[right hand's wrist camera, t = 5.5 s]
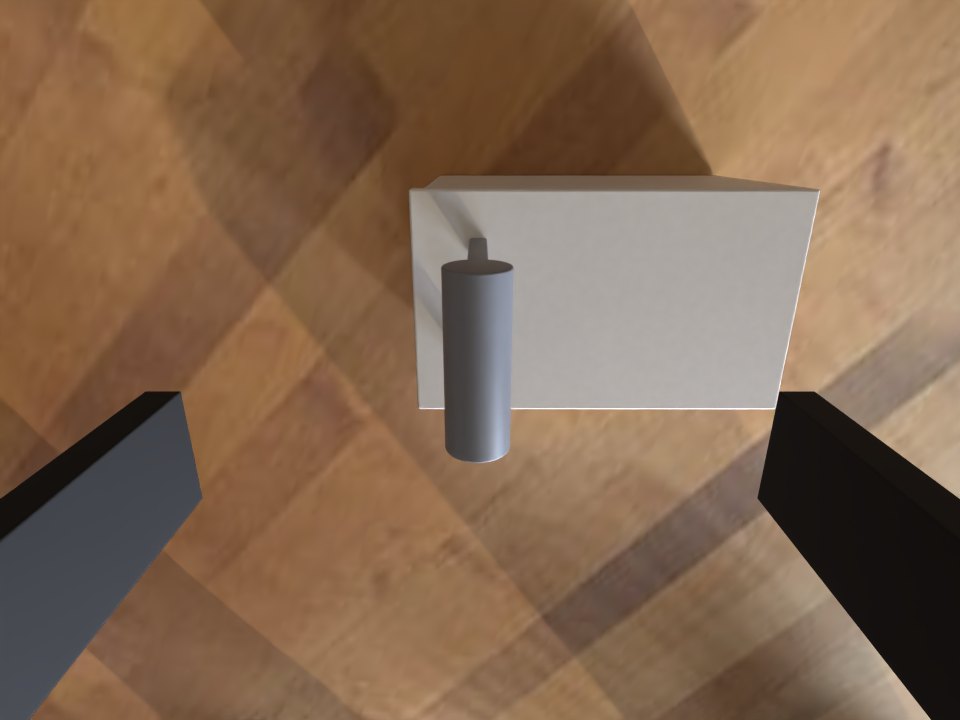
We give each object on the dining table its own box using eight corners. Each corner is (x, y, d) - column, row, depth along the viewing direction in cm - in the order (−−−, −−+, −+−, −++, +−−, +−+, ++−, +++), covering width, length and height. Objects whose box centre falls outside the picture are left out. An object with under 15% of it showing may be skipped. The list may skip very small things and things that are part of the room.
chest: (443, 335, 35) (430, 401, 26) (439, 175, 31) (423, 187, 23) (693, 335, 35) (766, 401, 26) (716, 175, 31) (808, 187, 23)
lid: (419, 401, 26) (394, 509, 18) (410, 187, 23) (375, 209, 15) (767, 401, 26) (886, 509, 18) (809, 187, 23) (977, 209, 15)
